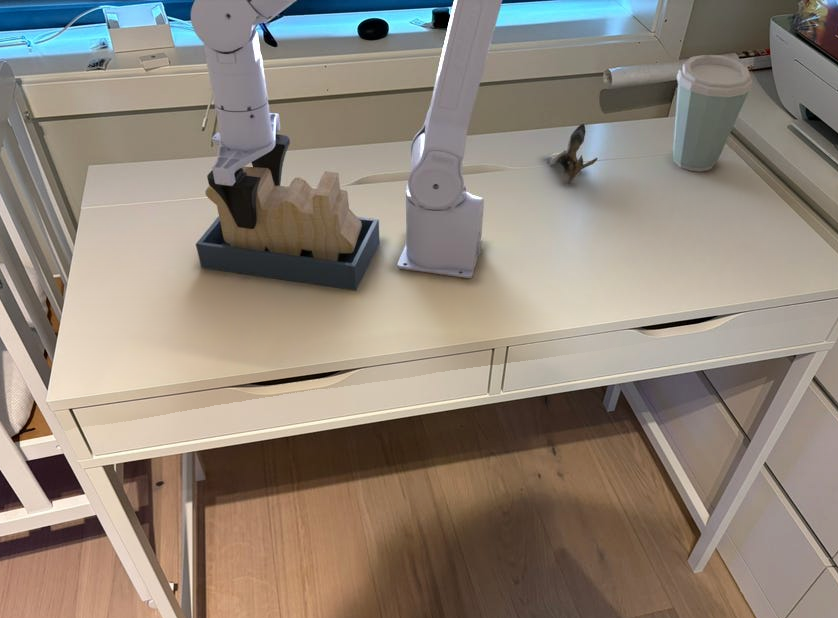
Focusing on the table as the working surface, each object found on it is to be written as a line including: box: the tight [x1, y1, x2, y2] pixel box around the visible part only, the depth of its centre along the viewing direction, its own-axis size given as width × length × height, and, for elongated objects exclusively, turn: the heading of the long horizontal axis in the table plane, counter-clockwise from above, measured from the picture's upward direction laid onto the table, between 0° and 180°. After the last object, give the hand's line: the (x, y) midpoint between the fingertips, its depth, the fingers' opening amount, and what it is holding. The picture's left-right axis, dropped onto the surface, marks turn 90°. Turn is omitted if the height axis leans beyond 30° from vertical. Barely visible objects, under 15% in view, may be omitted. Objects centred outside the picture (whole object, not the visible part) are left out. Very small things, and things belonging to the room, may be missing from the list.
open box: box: [195, 215, 380, 291], centre depth 91 cm, size 20×11×4 cm, turn 79°
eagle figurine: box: [544, 123, 599, 185], centre depth 109 cm, size 8×7×9 cm
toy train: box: [204, 166, 362, 261], centre depth 88 cm, size 6×17×10 cm, turn 85°
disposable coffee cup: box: [672, 54, 753, 172], centre depth 109 cm, size 11×11×15 cm
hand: (258, 210), depth 88 cm, fingers open, 7 cm apart
